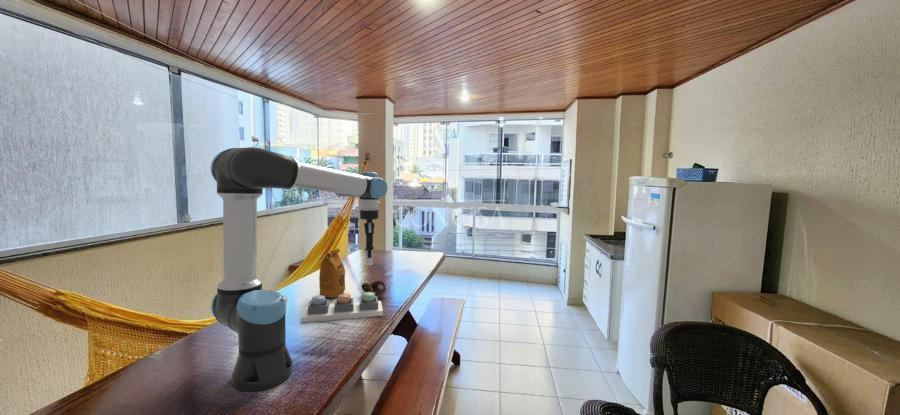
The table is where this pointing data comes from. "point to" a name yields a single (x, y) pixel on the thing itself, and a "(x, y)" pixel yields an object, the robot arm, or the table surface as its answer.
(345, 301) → the terracotta button
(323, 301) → the slate button
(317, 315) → the button panel
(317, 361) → the table surface
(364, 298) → the sage button
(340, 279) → the coffee package
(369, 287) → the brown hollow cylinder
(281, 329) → the robot arm
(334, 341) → the table surface
